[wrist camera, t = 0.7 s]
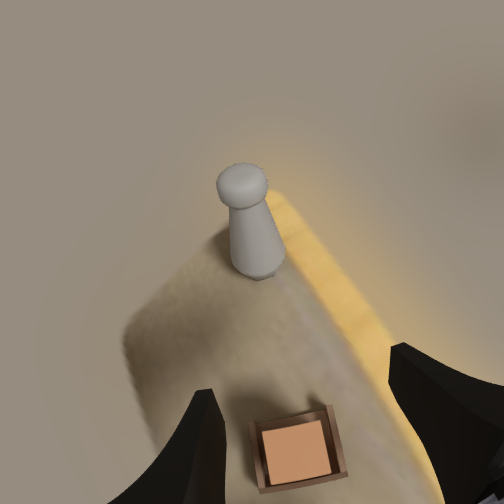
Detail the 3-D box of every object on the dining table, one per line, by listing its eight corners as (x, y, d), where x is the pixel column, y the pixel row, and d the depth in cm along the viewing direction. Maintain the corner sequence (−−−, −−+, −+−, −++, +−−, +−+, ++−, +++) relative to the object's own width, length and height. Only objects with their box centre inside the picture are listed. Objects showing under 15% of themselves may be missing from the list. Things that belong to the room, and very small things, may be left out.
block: (325, 470, 21) (331, 473, 16) (278, 479, 21) (271, 484, 16) (317, 428, 23) (320, 420, 19) (271, 437, 24) (262, 431, 19)
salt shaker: (225, 266, 36) (191, 177, 26) (262, 237, 38) (243, 145, 28) (258, 297, 33) (233, 207, 23) (297, 264, 35) (289, 169, 25)
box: (345, 475, 21) (348, 476, 19) (263, 491, 21) (259, 493, 19) (330, 408, 25) (332, 404, 23) (252, 424, 25) (247, 421, 23)
